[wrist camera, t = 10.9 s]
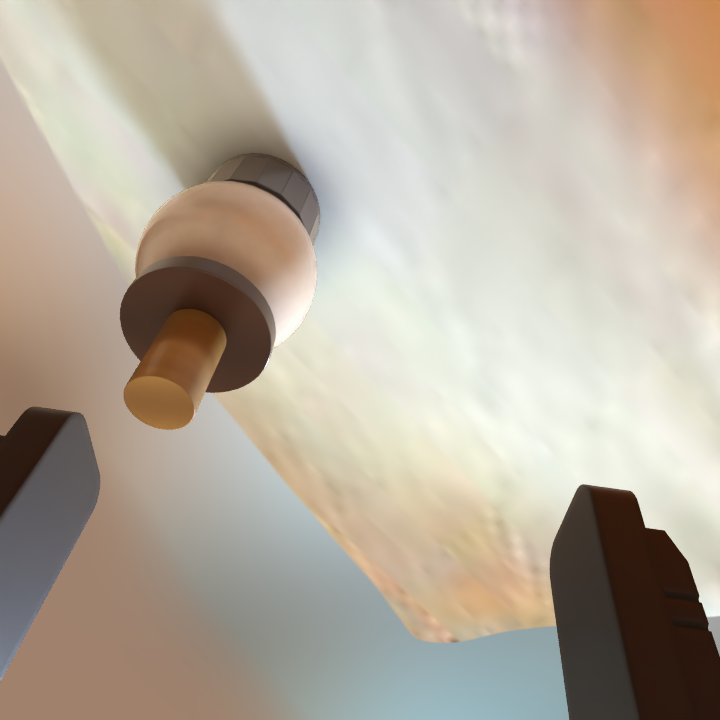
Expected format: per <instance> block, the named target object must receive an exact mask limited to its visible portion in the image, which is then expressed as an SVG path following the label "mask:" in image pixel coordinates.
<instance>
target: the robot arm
mask: <svg viewBox="0 0 720 720" xmlns="http://www.w3.org/2000/svg"><path fill="white" fill-rule="evenodd" d="M99 489H100V474H99V469H98V465H97V462H96V458H95V454H94V450H93V447H92V442H91V439H90V435H89V431H88V427H87V423H86V420H85V418H84V416H83V415H82V414H81V413H77V412H69V411H63V410H56V409H48V408H41V407H31V408H29V409H27V410H26V411H25V412H24V413H23V414H22V415H21V416H20V418H19V419H18V420H17V421H16V423H15V424H14V425H13V427H12V428H11V429H10V431H9V432H8V433H7V435H6V436H1V435H0V681H1V679H2V678H3V675H4V674H5V672H6V670H7V668H8V667H9V665H10V663H11V661H12V659H13V657H14V655H15V654H16V652H17V650H18V648H19V646H20V644H21V643H22V641H23V639H24V637H25V635H26V633H27V632H28V630H29V628H30V626H31V624H32V622H33V621H34V619H35V617H36V615H37V613H38V611H39V610H40V608H41V606H42V604H43V602H44V600H45V598H46V597H47V595H48V593H49V591H50V589H51V587H52V586H53V584H54V582H55V580H56V578H57V576H58V574H59V573H60V571H61V569H62V567H63V565H64V564H65V562H66V560H67V558H68V556H69V554H70V553H71V551H72V549H73V547H74V545H75V543H76V541H77V539H78V538H79V536H80V534H81V532H82V530H83V529H84V527H85V525H86V523H87V521H88V519H89V518H90V515H91V514H92V512H93V510H94V507H95V505H96V502H97V499H98V495H99ZM550 581H551V588H552V596H553V603H554V610H555V617H556V625H557V632H558V639H559V646H560V654H561V661H562V669H563V676H564V683H565V690H566V698H567V705H568V712H569V720H720V656H719V653H718V650H717V647H716V644H715V641H714V638H713V636H712V632H710V631H709V630H708V624H709V623H708V620H707V617H706V614H705V611H704V608H703V605H702V603H699V594H698V591H697V588H696V585H695V582H694V579H693V576H692V573H691V570H690V567H689V564H688V561H687V560H686V559H685V557H684V556H683V555H682V553H681V552H680V551H679V549H678V548H677V547H676V545H675V544H674V543H673V541H672V540H671V539H670V537H669V536H668V535H667V533H666V532H665V531H664V530H656V529H649V528H645V525H644V521H643V518H642V515H641V511H640V508H639V504H638V501H637V498H636V497H635V495H634V494H633V493H632V492H631V491H627V490H620V489H613V488H606V487H598V486H591V485H584V484H583V485H581V486H579V488H578V489H577V491H576V493H575V495H574V497H573V499H572V502H571V504H570V506H569V508H568V510H567V513H566V515H565V517H564V519H563V522H562V524H561V526H560V528H559V530H558V533H557V535H556V537H555V539H554V542H553V546H552V550H551V557H550Z"/></svg>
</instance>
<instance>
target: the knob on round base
mask: <svg viewBox="0 0 720 720" xmlns="http://www.w3.org/2000/svg"><path fill="white" fill-rule="evenodd" d="M120 321H121V327H122V331H123V334H124V337H125V339H126V341H127V343H128V345H129V346H130V348H131V350H132V351H133V352H134V354H135V355H136V356H137V358H138V359H139V360H140V361H141V362H140V364H139V365H138V367H137V368H136V370H135V372H134V373H133V376H132V377H131V379H130V380H129V382H128V383H127V385H126V387H125V389H124V400H125V404H126V406H127V407H128V409H129V410H130V412H131V413H132V414H133V415H134V416H135V417H136V418H138V419H139V420H140V421H142V422H144V423H145V424H147V425H150V426H152V427H155V428H159V429H166V430H173V429H179V428H182V427H184V426H186V425H187V424H189V423H190V422H191V420H192V419H193V418H194V415H195V413H196V411H197V409H198V406H199V404H200V402H201V400H202V398H203V396H204V393H205V392H210V393H215V392H226V391H231V390H235V389H238V388H241V387H243V386H245V385H247V384H249V383H250V382H252V381H253V380H254V379H256V378H257V377H258V376H259V375H260V374H261V373H262V372H263V370H264V369H265V367H266V365H267V363H268V361H269V359H270V356H271V353H272V350H273V347H274V343H275V339H276V326H275V320H274V316H273V313H272V311H271V308H270V306H269V304H268V302H267V301H266V299H265V297H264V296H263V295H262V293H261V292H260V291H259V290H258V289H257V287H256V286H255V285H254V284H253V283H252V282H251V281H249V280H248V279H247V278H246V277H245V276H243V275H242V274H240V273H239V272H237V271H236V270H234V269H232V268H230V267H229V266H227V265H224V264H222V263H219V262H217V261H214V260H210V259H207V258H202V257H196V256H175V257H170V258H165V259H163V260H160V261H157V262H155V263H153V264H151V265H149V266H148V267H147V268H145V269H144V270H143V271H142V272H141V273H140V274H139V275H138V276H137V277H136V279H135V280H134V281H133V283H132V284H131V286H130V287H129V288H128V290H127V292H126V293H125V295H124V298H123V300H122V303H121V308H120Z"/></svg>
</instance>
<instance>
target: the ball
mask: <svg viewBox="0 0 720 720" xmlns="http://www.w3.org/2000/svg"><path fill="white" fill-rule="evenodd" d="M175 256H196V257H202V258H207V259H210V260H214V261H217V262H219V263H222V264H224V265H227V266H229V267H230V268H232V269H234V270H236V271H237V272H239V273H240V274H242V275H243V276H245V277H246V278H247V279H248V280H249V281H251V282H252V283H253V284H254V285H255V286H256V287H257V289H258V290H259V291H260V292H261V293H262V295H263V296H264V297H265V299H266V301H267V302H268V304H269V306H270V308H271V311H272V313H273V316H274V320H275V326H276V339H275V343H274V347H273V349H274V348H275V347H277V346H279V345H280V344H281V343H283V342H284V341H285V340H286V339H288V338H289V337H290V336H291V335H292V334H293V333H294V332H295V331H296V330H297V328H298V327H299V326H300V325H301V323H302V322H303V320H304V319H305V317H306V315H307V313H308V311H309V309H310V306H311V304H312V302H313V298H314V295H315V290H316V284H317V261H316V256H315V251H314V248H313V245H312V242H311V239H310V237H309V235H308V233H307V231H306V228H305V227H304V225H303V224H302V222H301V221H300V219H299V218H298V217H297V216H296V214H295V213H294V212H293V211H292V210H291V209H290V208H289V207H288V206H287V205H286V204H285V203H284V202H282V201H281V200H280V199H278V198H277V197H276V196H274V195H272V194H270V193H269V192H267V191H265V190H263V189H260V188H258V187H256V186H252V185H249V184H246V183H241V182H235V181H213V182H207V183H202V184H198V185H195V186H192V187H190V188H187V189H185V190H183V191H181V192H180V193H178V194H176V195H174V196H173V197H171V198H170V199H169V200H168V201H167V202H165V203H164V204H163V205H162V206H161V207H160V208H159V209H158V210H157V211H156V212H155V214H154V215H153V216H152V218H151V219H150V221H149V222H148V224H147V226H146V227H145V229H144V231H143V234H142V236H141V239H140V242H139V245H138V249H137V254H136V267H135V272H136V277H137V276H138V275H139V274H140V273H141V272H142V271H143V270H144V269H145V268H147V267H148V266H149V265H151V264H153V263H155V262H157V261H160V260H163V259H165V258H170V257H175Z"/></svg>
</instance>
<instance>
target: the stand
mask: <svg viewBox="0 0 720 720" xmlns="http://www.w3.org/2000/svg"><path fill="white" fill-rule="evenodd" d="M213 181H235V182H241V183H246V184H249V185H252V186H256V187H258V188H260V189H263V190H265V191H267V192H269V193H270V194H272V195H274V196H276V197H277V198H278V199H280V200H281V201H282V202H284V203H285V204H286V205H287V206H288V207H289V208H290V209H291V210H292V211H293V212H294V213H295V214H296V216H297V217H298V218H299V219H300V221H301V222H302V224H303V225H304V227H305V228H306V231H307V233H308V235H309V237H310V239H311V242H312V245H314V242H315V239H316V237H317V234H318V228H319V223H320V209H319V203H318V200H317V197H316V195H315V192H314V190H313V188H312V187H311V185H310V184H309V182H308V181H307V180H306V178H305V177H304V176H303V175H302V174H301V173H300V172H299V171H298V170H297V169H296V168H294V167H293V166H292V165H290V164H288V163H287V162H285V161H283V160H281V159H279V158H276V157H273V156H270V155H264V154H244V155H240V156H237V157H234V158H231V159H230V160H228V161H226V162H224V163H223V164H222V165H221V166H220V167H219V168H218V169H217V170H216V171H215V172H214V173H213V174H212V175H211V176H210V177H209V178H208V179H207V181H206V182H205V183H207V182H213Z"/></svg>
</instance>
